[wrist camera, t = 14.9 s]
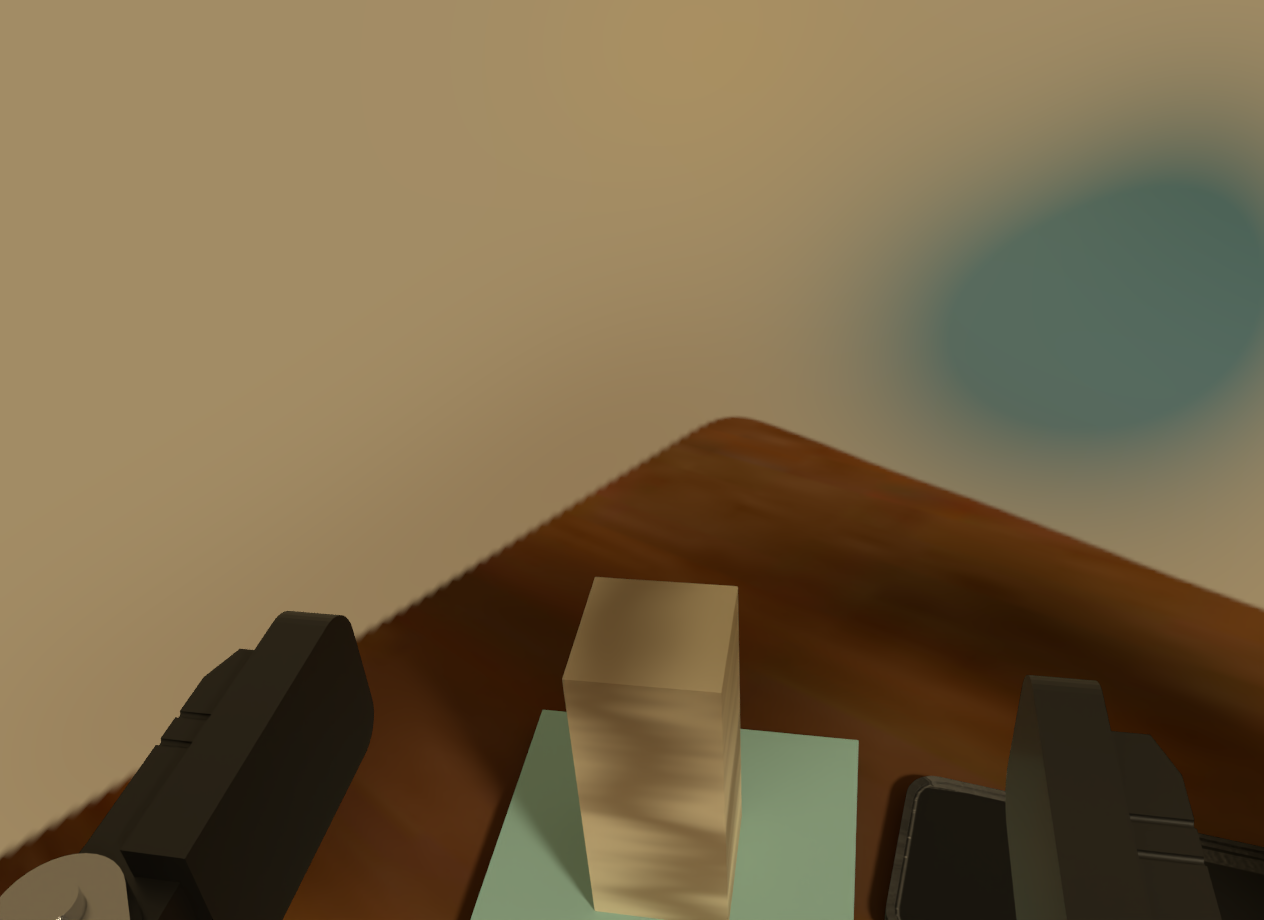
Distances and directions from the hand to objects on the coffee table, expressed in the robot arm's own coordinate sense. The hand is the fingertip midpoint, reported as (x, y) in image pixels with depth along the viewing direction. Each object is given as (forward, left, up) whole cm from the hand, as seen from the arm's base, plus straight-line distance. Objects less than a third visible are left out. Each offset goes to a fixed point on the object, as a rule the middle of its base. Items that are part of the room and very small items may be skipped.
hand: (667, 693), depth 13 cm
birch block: (+4, -17, -27) cm, 32 cm away
